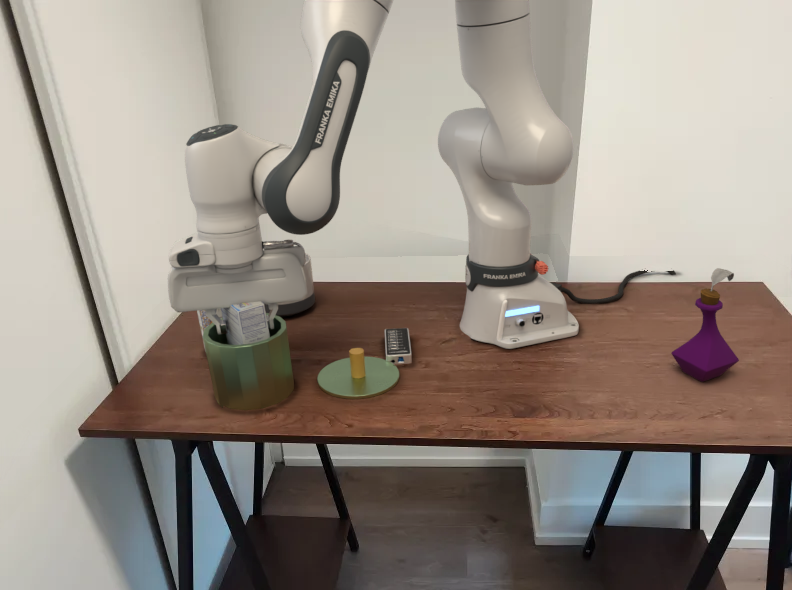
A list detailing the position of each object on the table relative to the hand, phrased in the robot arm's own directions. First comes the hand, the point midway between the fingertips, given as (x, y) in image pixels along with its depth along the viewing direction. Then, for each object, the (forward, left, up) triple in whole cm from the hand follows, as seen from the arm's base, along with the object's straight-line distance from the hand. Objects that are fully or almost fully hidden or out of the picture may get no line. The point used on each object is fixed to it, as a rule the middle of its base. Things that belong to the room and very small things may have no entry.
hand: (246, 330), depth 107 cm
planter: (-5, -34, -11) cm, 36 cm away
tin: (0, 0, -11) cm, 11 cm away
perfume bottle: (-73, +10, -11) cm, 74 cm away
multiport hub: (-25, -9, -11) cm, 29 cm away
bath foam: (+6, -17, -11) cm, 21 cm away
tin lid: (-17, 0, -11) cm, 20 cm away
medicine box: (0, 0, -4) cm, 4 cm away
